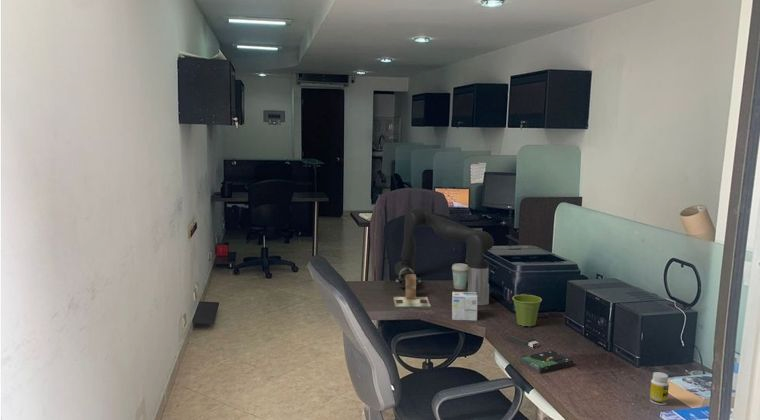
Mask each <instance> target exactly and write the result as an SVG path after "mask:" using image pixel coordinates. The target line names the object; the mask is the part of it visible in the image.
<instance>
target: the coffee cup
mask: <svg viewBox="0 0 760 420" xmlns="http://www.w3.org/2000/svg"><path fill="white" fill-rule="evenodd" d="M468 266H469V264H467V263H461V262H460V263H453V264H452V266H451V270H452V280H453V281H452V282H453V288H454V289H456V290H465V289H467V288H466V286H467V282H468Z"/></svg>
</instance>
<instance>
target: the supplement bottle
mask: <svg viewBox="0 0 760 420" xmlns="http://www.w3.org/2000/svg"><path fill="white" fill-rule="evenodd" d="M669 386H670V383H669V374H666V372H665V373H664V372H660V371H659V372H658V371H655V372H653V373H652V378H651V381H650V391H649V401H650V402H651V403H652V404H654V405H659V406H665V405H668V400H669V399H668V398H669V388H670V387H669Z"/></svg>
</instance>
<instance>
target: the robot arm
mask: <svg viewBox="0 0 760 420" xmlns="http://www.w3.org/2000/svg"><path fill="white" fill-rule="evenodd" d="M423 226H427V227H429V228H431V229H433V231H434V232H435V234H436V235H438V236H439V237H441V238H443V239H445V240H449V241H453V242H460V243H466V259H467V263H468V264H467V265H468V274H467V292H477V306H485V305H489V301H490V284H489V269H490V268H489V267H490V263H489V260H487V259H485V258H484V253H485V252H488V251H490V250H491V249H492V248H493V247H494V244H495V241H494V238H493V236H492V235H491V234H490V233H488V232H487V231H484V230H479V229H474V228H471V227H469V226H466V225H464V224H461V223H458V222H456V221H453V220H450V219H448V218H446V217H442V216H439V215H437V214H434V213H432V212H431V211H429V210H426V208H421V207H418V208H414V209H410V210H408V211H406V213H405V214H404V222H403V242H402V247H401V248H402V249H401V253H400V258H401V260H402V261H397V262H396V263H395V266H394V271H395V274H396V275H397V276H399V277H395V284H397V285H402V286H406V274H415V263H414V262H415V261H414V260H415V255H416V251H417V245H416V241H415V238H414V233H415V229H416V228H418V227H423ZM421 282H422V279H421V277H416V286H417V285H418V284H419V285H420V284H422V283H421Z"/></svg>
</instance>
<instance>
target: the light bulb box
mask: <svg viewBox="0 0 760 420" xmlns="http://www.w3.org/2000/svg"><path fill="white" fill-rule="evenodd" d="M451 293H452V297H451V318H452V321H453V320H454V321H473V322H474V321H476V322H477V321H478V305H477V292H468V291H452V292H451Z"/></svg>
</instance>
